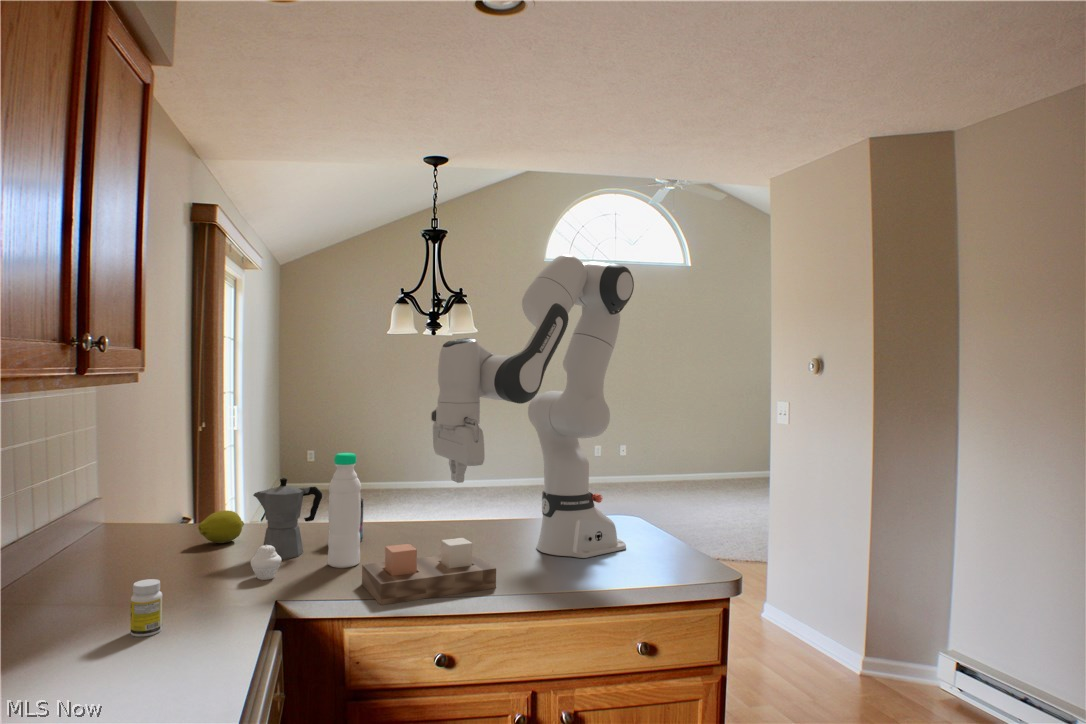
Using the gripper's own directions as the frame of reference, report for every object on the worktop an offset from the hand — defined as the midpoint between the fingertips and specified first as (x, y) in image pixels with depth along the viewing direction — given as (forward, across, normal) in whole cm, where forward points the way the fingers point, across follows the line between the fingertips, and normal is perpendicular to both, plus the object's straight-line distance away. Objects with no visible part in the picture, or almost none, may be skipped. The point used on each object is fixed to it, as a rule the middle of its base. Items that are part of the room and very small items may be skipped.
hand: (457, 481), depth 152 cm
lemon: (+21, +54, +41) cm, 71 cm away
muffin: (+21, +20, +35) cm, 46 cm away
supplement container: (+21, +43, +12) cm, 50 cm away
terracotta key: (+18, 0, +12) cm, 21 cm away
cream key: (+18, 0, 0) cm, 18 cm away
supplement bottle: (+21, -3, +57) cm, 61 cm away
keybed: (+21, 0, +6) cm, 22 cm away
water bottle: (+21, +23, +18) cm, 36 cm away
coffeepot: (+21, +37, +28) cm, 51 cm away
